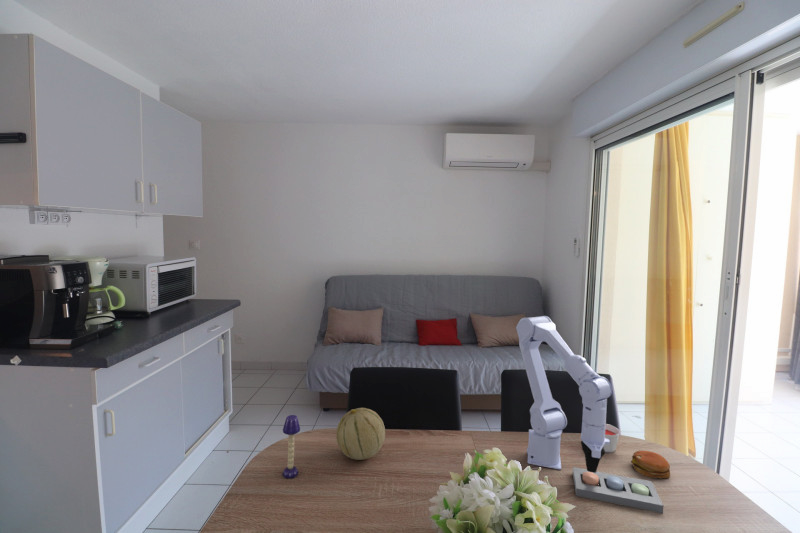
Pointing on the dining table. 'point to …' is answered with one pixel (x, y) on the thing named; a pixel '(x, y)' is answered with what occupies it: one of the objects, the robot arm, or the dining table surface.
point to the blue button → (614, 483)
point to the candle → (611, 437)
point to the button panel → (618, 491)
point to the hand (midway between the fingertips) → (591, 470)
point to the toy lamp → (291, 444)
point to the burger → (650, 464)
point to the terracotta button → (590, 478)
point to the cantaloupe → (360, 433)
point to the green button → (639, 489)
